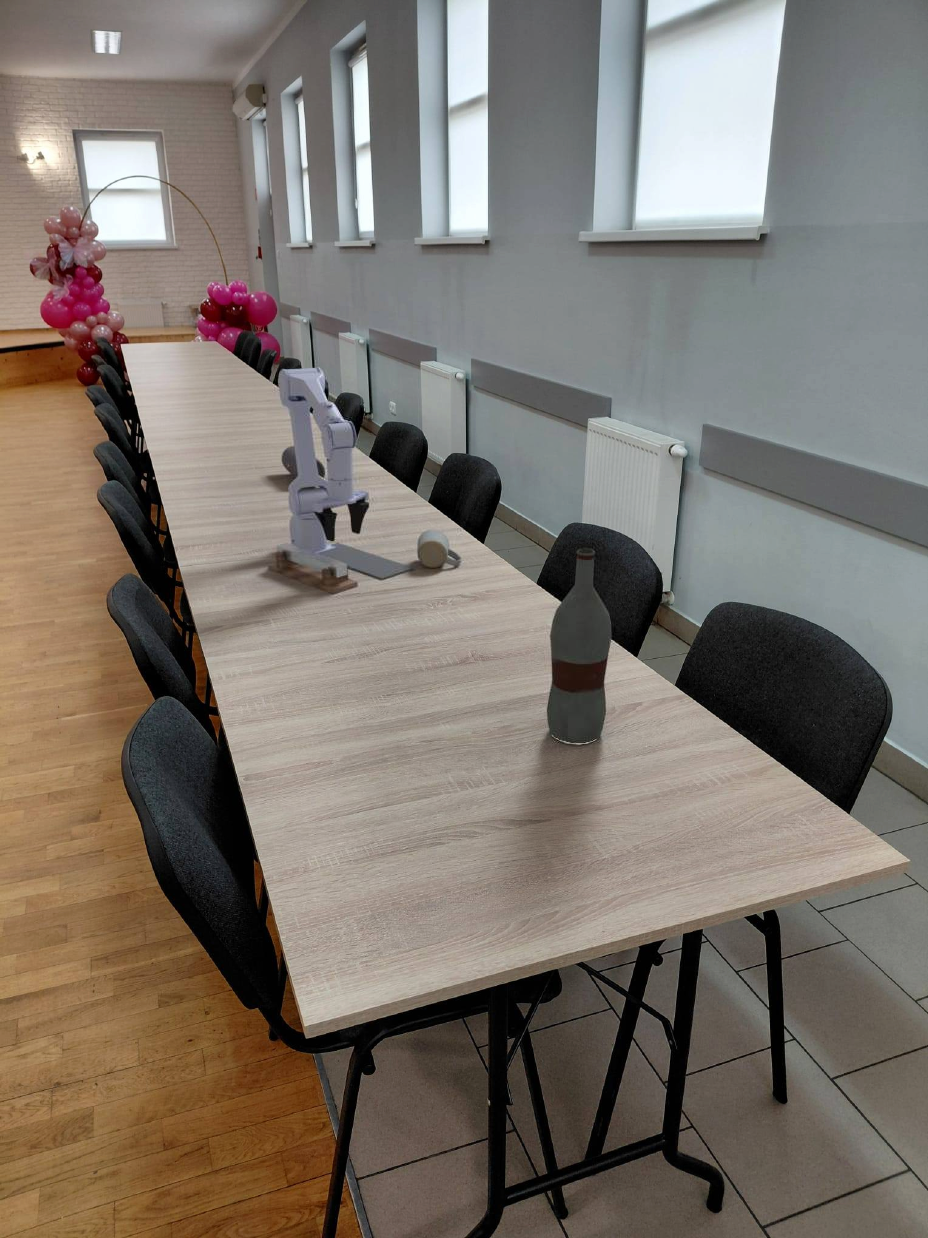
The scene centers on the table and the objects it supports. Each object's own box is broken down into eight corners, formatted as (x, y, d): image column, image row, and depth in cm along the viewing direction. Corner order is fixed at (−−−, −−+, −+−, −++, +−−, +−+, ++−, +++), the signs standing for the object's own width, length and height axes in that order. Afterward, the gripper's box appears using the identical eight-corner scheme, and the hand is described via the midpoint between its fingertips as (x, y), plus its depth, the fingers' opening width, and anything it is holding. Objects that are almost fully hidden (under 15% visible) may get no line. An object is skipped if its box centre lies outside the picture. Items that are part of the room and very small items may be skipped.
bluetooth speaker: (280, 475, 299) (278, 445, 295) (307, 472, 303) (306, 443, 299) (298, 491, 280) (296, 459, 276) (327, 488, 284) (326, 456, 280)
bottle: (567, 712, 147) (576, 537, 136) (615, 730, 142) (630, 549, 130) (534, 734, 141) (541, 552, 129) (583, 754, 135) (595, 565, 124)
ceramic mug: (416, 569, 212) (417, 538, 209) (417, 558, 220) (417, 528, 217) (461, 570, 212) (462, 539, 210) (460, 559, 220) (461, 529, 217)
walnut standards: (268, 568, 212) (267, 550, 210) (292, 561, 217) (291, 544, 215) (333, 593, 197) (332, 574, 195) (357, 585, 202) (356, 567, 200)
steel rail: (277, 555, 212) (276, 545, 211) (287, 552, 214) (286, 542, 213) (336, 577, 198) (336, 567, 197) (347, 574, 200) (346, 563, 199)
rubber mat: (306, 553, 223) (306, 551, 223) (337, 544, 230) (337, 542, 230) (382, 579, 205) (382, 578, 205) (413, 569, 212) (413, 567, 212)
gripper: (326, 486, 191) (330, 547, 196) (377, 474, 201) (378, 533, 206) (305, 481, 195) (309, 540, 201) (356, 469, 205) (358, 527, 211)
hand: (343, 536), depth 204 cm, fingers open, 7 cm apart
